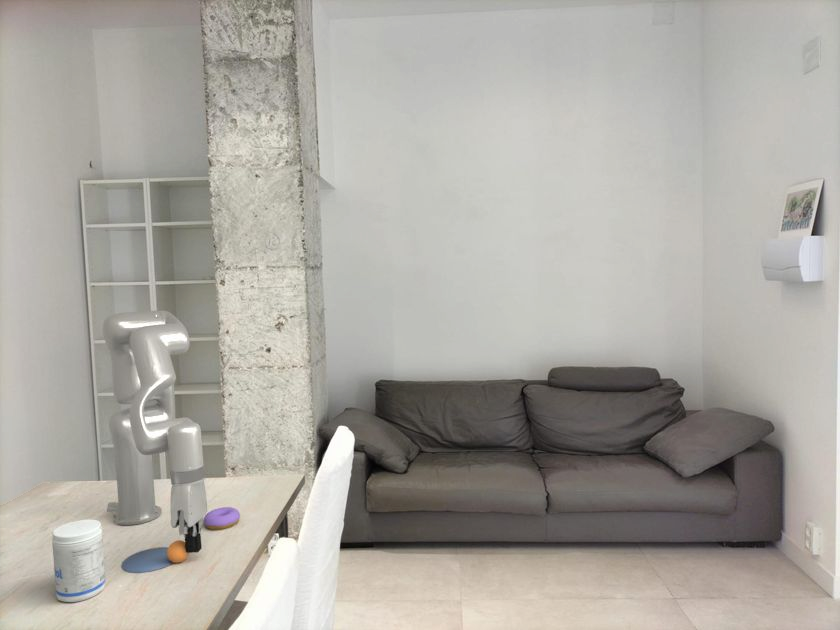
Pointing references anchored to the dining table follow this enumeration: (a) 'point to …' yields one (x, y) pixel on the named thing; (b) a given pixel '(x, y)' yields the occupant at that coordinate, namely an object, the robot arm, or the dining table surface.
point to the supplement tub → (78, 560)
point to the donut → (221, 518)
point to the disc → (147, 560)
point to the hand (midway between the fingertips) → (193, 551)
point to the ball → (177, 551)
